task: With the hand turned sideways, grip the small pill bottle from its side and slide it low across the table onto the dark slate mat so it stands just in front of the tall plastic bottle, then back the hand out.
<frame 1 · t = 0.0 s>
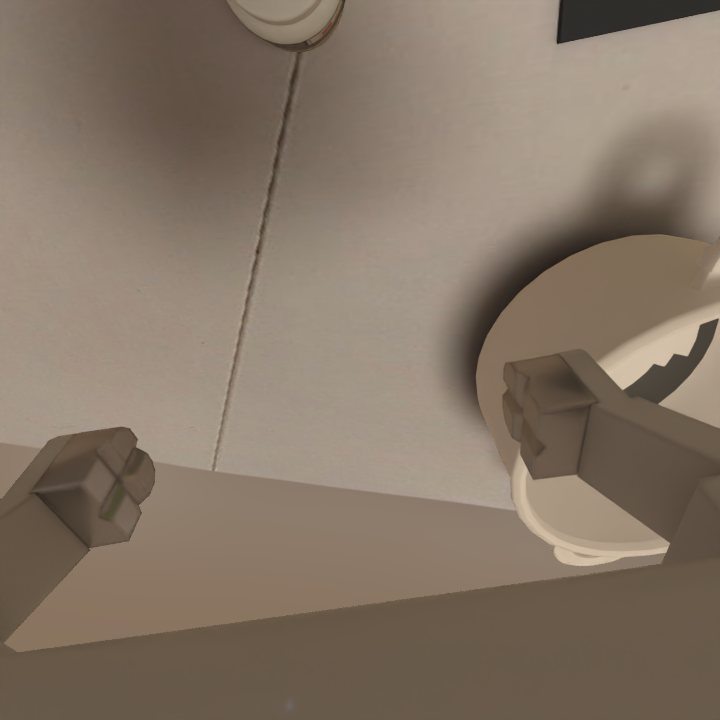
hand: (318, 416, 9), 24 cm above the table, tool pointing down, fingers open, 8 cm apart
pot: (586, 343, 38), on the table
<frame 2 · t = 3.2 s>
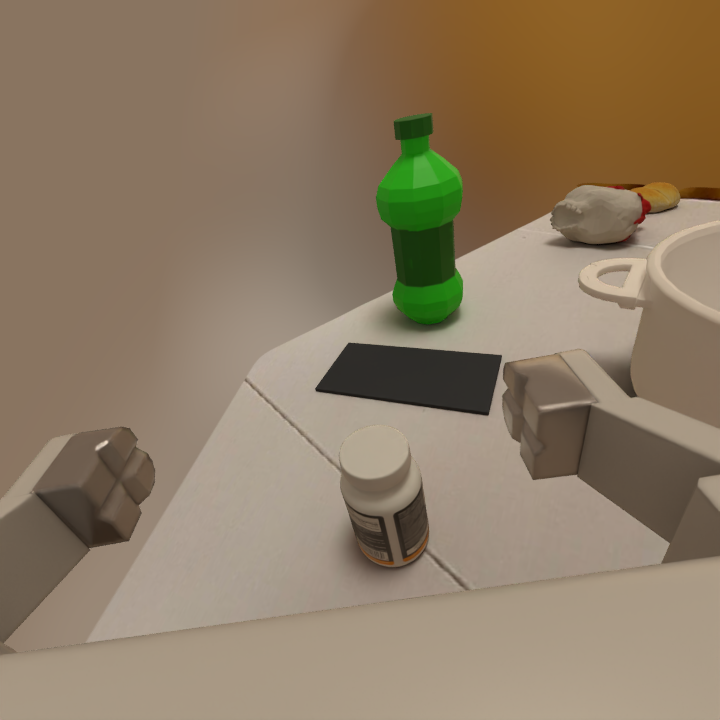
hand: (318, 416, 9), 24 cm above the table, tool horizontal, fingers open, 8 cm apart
bread roll: (648, 207, 78), on the table
pill bottle: (393, 536, 32), on the table
plastic bottle: (430, 316, 59), on the table
slate mat: (407, 374, 49), on the table
white lumpy rounded piece: (603, 239, 70), on the table
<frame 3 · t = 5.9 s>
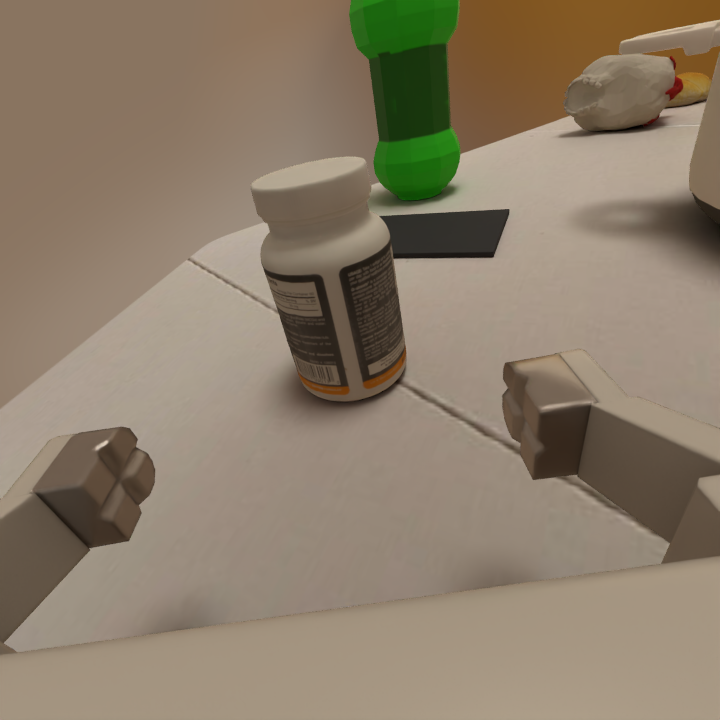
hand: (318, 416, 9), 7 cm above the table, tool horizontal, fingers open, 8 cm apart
bread roll: (674, 104, 68), on the table
pill bottle: (354, 374, 22), on the table
plastic bottle: (420, 195, 49), on the table
slate mat: (389, 236, 38), on the table
white lumpy rounded piece: (626, 128, 60), on the table
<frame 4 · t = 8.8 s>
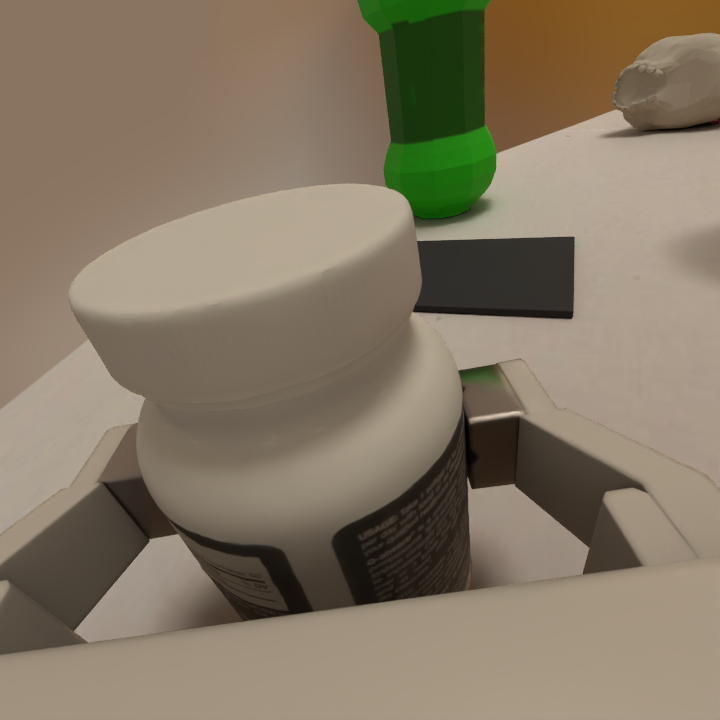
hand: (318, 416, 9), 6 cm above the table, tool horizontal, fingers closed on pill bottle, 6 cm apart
pill bottle: (365, 588, 11), on the table, touching gripper
plastic bottle: (442, 211, 38), on the table
slate mat: (407, 273, 28), on the table
white lumpy rounded piece: (687, 126, 49), on the table
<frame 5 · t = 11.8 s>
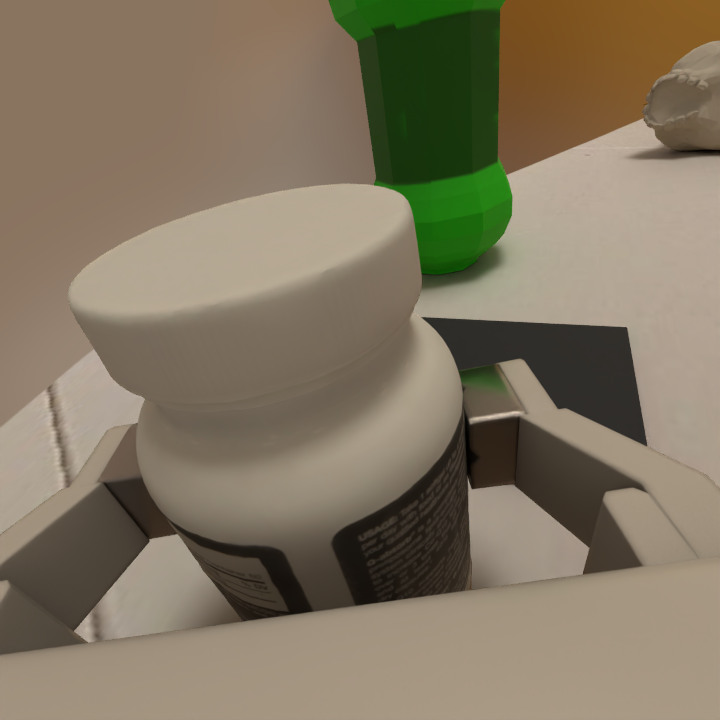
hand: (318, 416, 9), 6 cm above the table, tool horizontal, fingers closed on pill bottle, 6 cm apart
pill bottle: (365, 589, 11), point 1 cm above the table, touching gripper
plastic bottle: (441, 261, 31), on the table
slate mat: (394, 375, 20), on the table
when the fingers open (6 cm above the table, at t = 14.6 s): pill bottle stays where it is, resting on slate mat.
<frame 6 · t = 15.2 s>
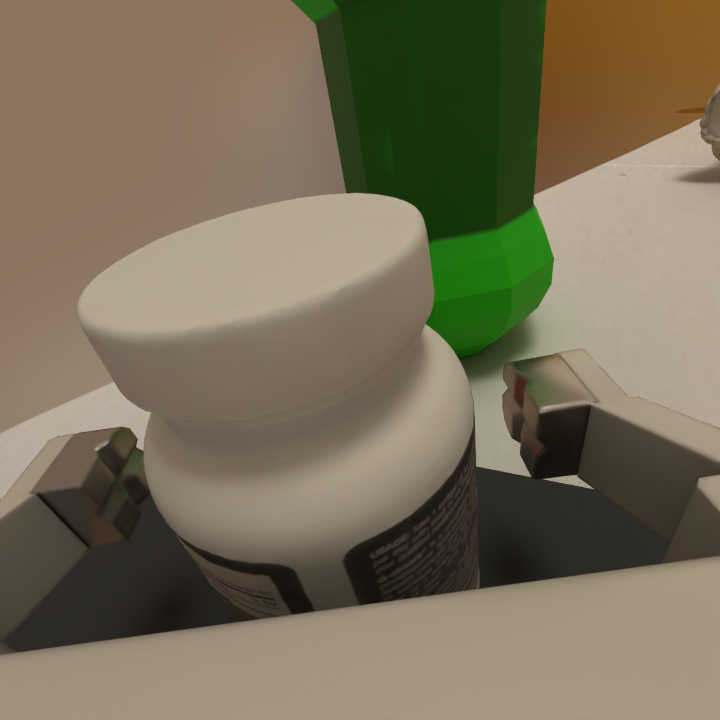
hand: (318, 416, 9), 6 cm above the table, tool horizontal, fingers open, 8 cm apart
pill bottle: (371, 598, 11), resting on slate mat
plastic bottle: (446, 334, 22), on the table
slate mat: (367, 596, 12), on the table
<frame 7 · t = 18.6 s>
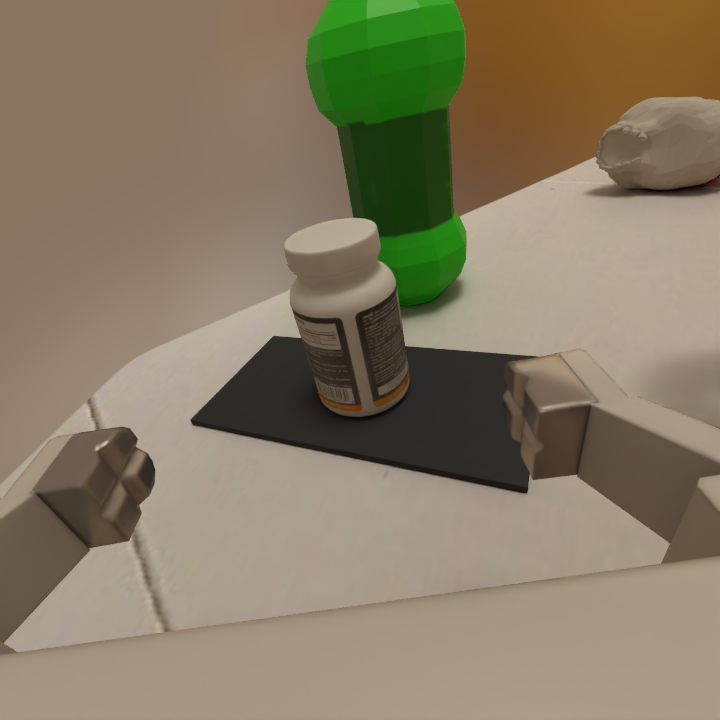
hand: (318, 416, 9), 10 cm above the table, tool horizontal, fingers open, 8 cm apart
pill bottle: (365, 392, 26), resting on slate mat
plastic bottle: (412, 293, 36), on the table
slate mat: (363, 393, 26), on the table
white lumpy rounded piece: (674, 185, 47), on the table
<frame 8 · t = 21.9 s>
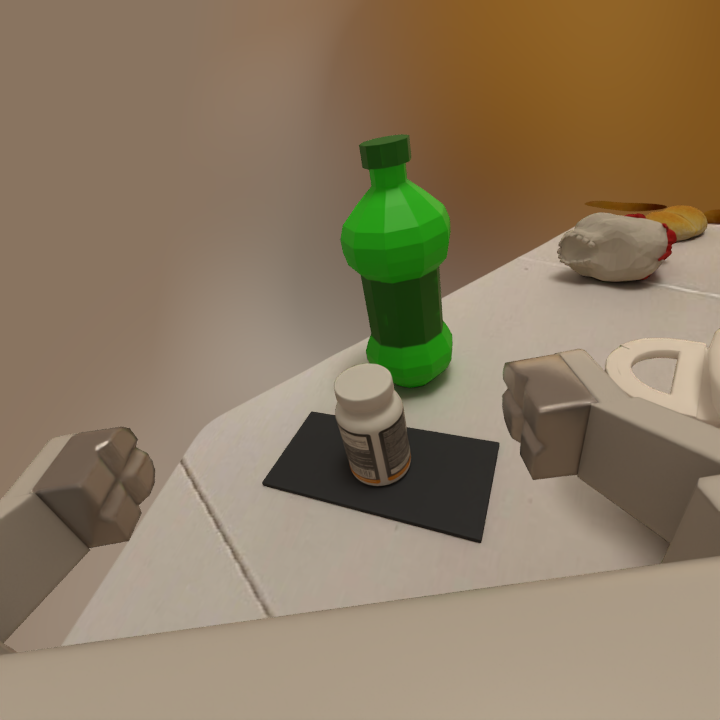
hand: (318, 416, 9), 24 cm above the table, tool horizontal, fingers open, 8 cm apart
bread roll: (669, 234, 68), on the table
pill bottle: (381, 465, 38), resting on slate mat
plastic bottle: (412, 375, 49), on the table
slate mat: (379, 465, 38), on the table
white lumpy rounded piece: (620, 275, 60), on the table
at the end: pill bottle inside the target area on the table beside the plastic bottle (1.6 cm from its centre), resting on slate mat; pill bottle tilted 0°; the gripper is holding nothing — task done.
